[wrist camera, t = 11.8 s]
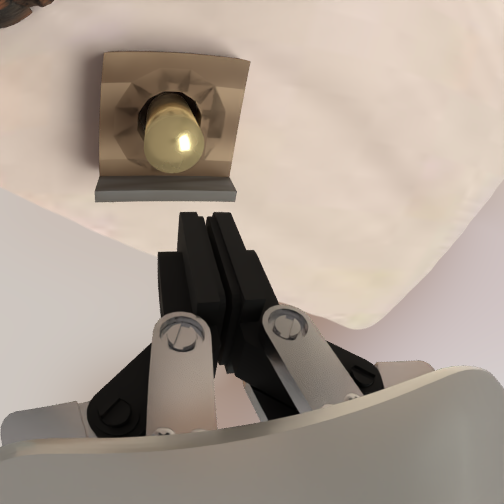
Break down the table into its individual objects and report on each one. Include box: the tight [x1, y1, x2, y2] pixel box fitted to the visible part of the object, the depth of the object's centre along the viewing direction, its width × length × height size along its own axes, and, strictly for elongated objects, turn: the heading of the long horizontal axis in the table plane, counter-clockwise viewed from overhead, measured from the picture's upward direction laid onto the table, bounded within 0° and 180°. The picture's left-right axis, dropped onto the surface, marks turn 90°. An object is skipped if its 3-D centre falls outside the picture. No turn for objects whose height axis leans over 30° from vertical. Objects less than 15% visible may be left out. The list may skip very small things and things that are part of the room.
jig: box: [95, 51, 250, 202], centre depth 24 cm, size 12×12×6 cm
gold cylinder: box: [144, 93, 204, 173], centre depth 23 cm, size 4×4×10 cm
